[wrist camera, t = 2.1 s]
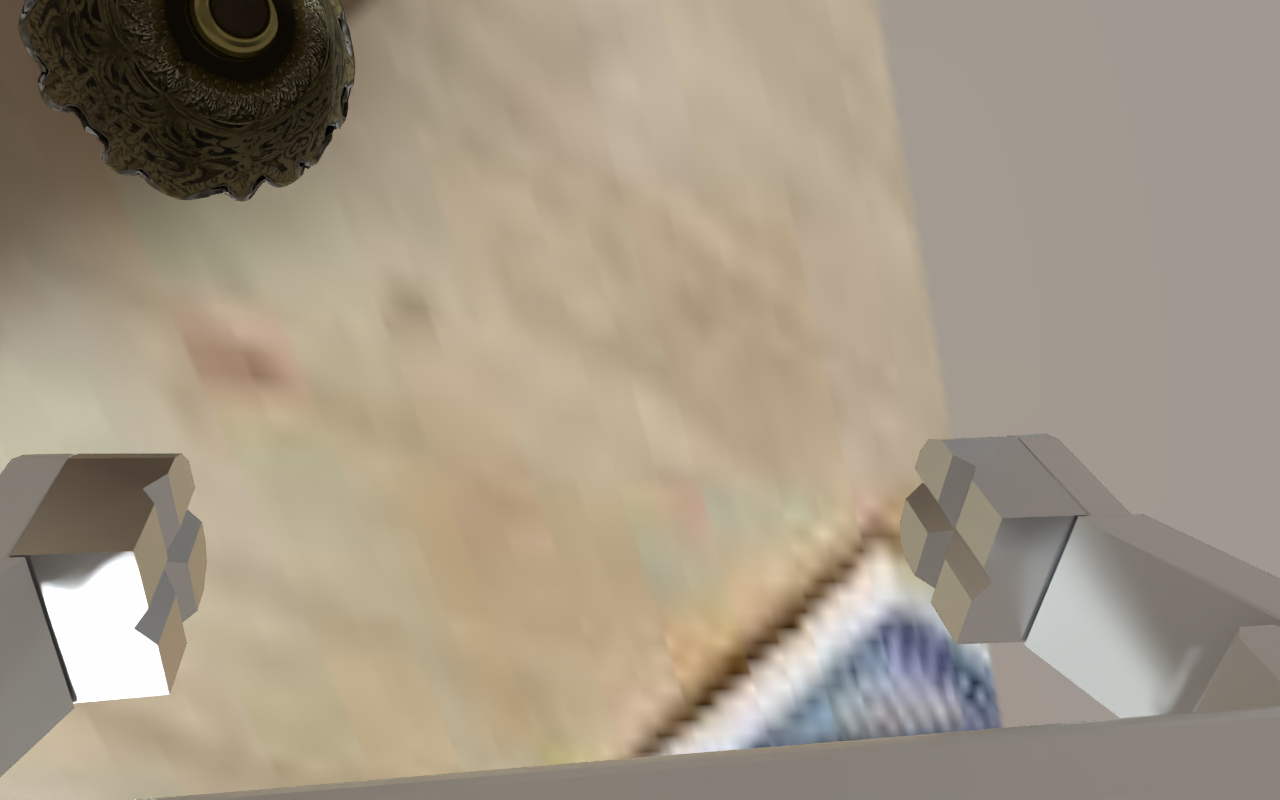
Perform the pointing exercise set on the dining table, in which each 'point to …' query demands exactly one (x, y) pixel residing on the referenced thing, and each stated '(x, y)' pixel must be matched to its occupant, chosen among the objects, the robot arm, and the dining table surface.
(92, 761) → the dining table surface
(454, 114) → the dining table surface
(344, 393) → the dining table surface
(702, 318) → the dining table surface
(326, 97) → the cup
